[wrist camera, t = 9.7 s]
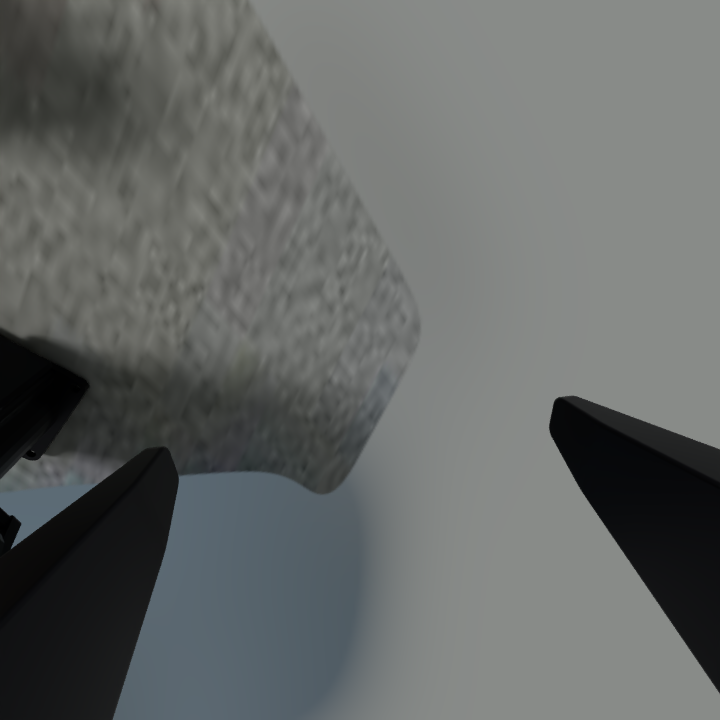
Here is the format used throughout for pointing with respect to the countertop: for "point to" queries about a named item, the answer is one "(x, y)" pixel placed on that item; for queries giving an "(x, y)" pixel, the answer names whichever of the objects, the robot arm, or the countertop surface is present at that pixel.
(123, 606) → the robot arm
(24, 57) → the countertop surface
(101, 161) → the countertop surface
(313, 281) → the countertop surface
